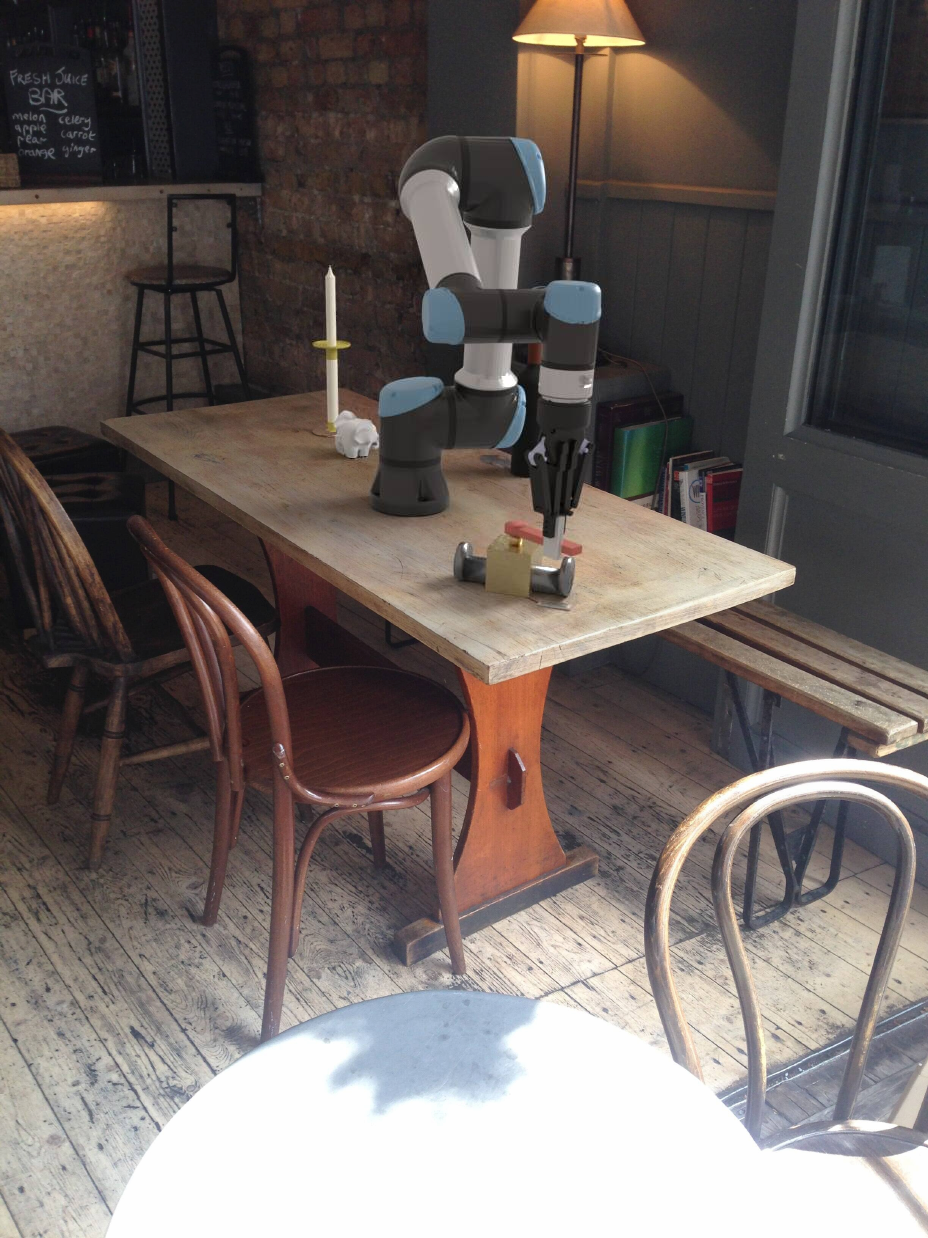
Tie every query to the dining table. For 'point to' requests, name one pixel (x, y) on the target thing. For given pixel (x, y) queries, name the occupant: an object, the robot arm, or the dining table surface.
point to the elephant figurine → (355, 435)
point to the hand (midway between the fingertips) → (551, 556)
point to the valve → (515, 569)
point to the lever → (538, 537)
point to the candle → (331, 351)
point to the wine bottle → (528, 412)
